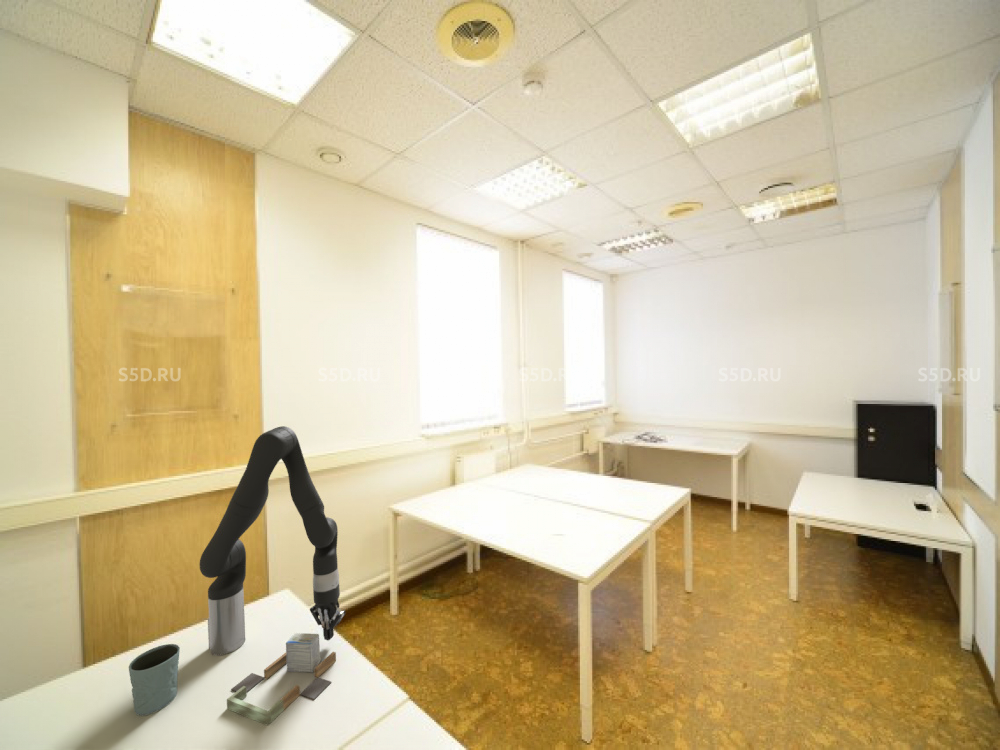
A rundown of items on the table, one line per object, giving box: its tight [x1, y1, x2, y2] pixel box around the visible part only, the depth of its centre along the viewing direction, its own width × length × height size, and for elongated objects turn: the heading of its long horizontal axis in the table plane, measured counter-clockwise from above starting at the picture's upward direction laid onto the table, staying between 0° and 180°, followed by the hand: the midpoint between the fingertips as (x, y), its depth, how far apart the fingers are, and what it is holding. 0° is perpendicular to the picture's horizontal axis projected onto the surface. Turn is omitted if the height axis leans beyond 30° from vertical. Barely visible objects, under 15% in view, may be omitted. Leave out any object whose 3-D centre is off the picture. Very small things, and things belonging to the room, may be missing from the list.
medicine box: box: [285, 632, 321, 673], centre depth 115 cm, size 8×4×9 cm, turn 84°
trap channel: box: [226, 651, 337, 726], centre depth 109 cm, size 24×22×2 cm
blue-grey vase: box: [128, 643, 181, 717], centre depth 104 cm, size 10×10×12 cm
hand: (328, 638), depth 124 cm, fingers closed
